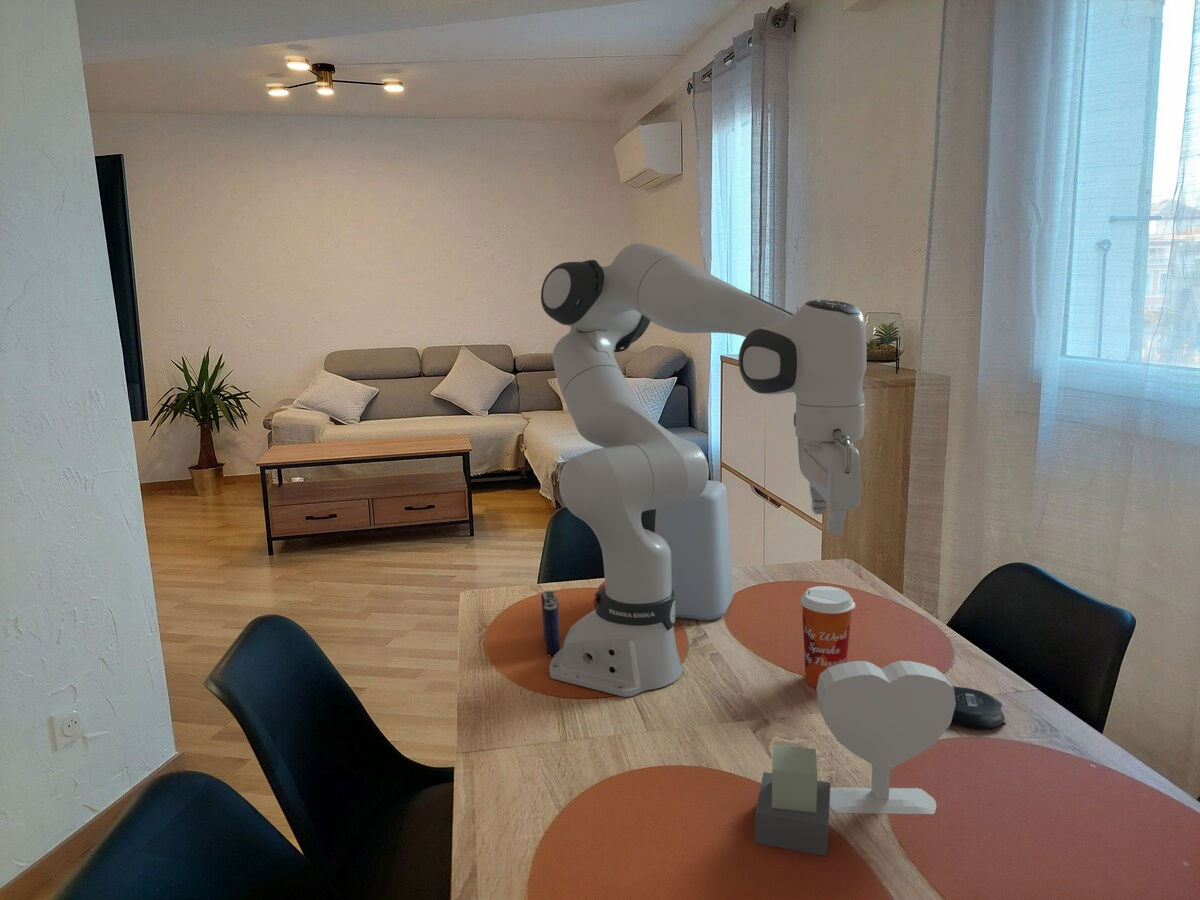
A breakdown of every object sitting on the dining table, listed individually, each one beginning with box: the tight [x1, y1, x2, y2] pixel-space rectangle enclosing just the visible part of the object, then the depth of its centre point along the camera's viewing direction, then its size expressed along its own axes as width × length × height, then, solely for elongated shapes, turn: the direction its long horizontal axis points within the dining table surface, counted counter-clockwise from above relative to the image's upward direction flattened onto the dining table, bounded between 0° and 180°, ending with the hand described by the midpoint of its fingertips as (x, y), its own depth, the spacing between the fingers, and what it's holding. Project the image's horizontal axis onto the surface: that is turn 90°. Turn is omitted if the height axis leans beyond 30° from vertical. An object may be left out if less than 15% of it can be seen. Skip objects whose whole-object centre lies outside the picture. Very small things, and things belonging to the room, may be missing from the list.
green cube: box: [771, 744, 818, 813], centre depth 93 cm, size 5×5×5 cm
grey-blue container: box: [654, 479, 734, 622], centre depth 157 cm, size 15×15×28 cm
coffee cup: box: [800, 585, 856, 689], centre depth 126 cm, size 8×8×15 cm
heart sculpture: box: [815, 660, 956, 815], centre depth 97 cm, size 16×5×18 cm, turn 87°
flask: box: [540, 589, 562, 656], centre depth 143 cm, size 9×3×11 cm, turn 8°
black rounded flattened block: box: [951, 685, 1008, 730], centre depth 118 cm, size 9×6×15 cm
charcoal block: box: [754, 771, 831, 857], centre depth 94 cm, size 8×8×4 cm
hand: (826, 522), depth 108 cm, fingers open, 8 cm apart
